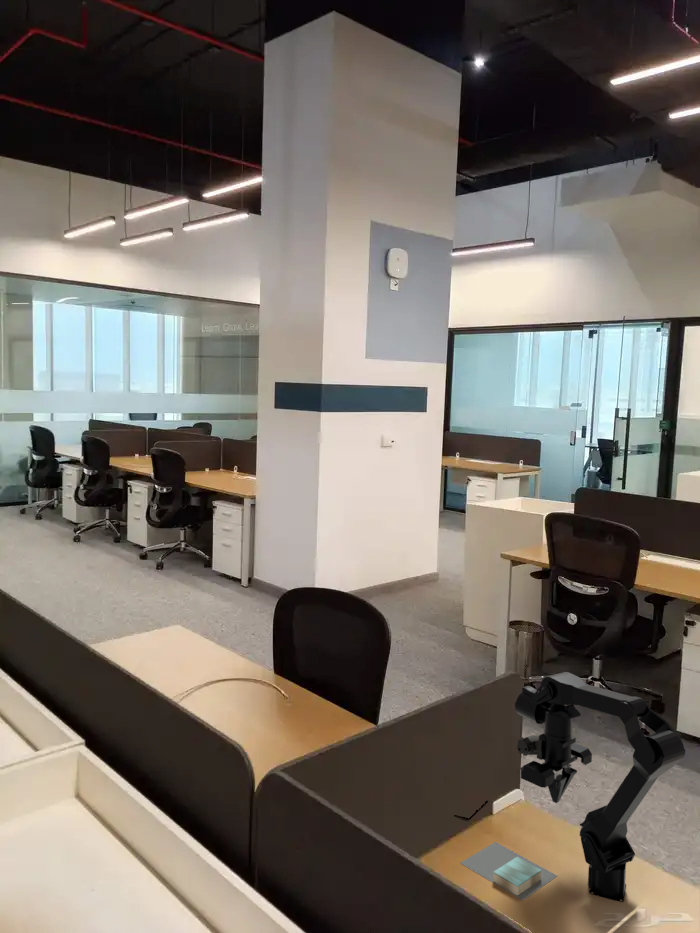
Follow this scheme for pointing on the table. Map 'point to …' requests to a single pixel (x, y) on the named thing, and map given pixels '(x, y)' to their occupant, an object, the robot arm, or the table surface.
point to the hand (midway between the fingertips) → (555, 801)
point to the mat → (496, 858)
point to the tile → (517, 875)
